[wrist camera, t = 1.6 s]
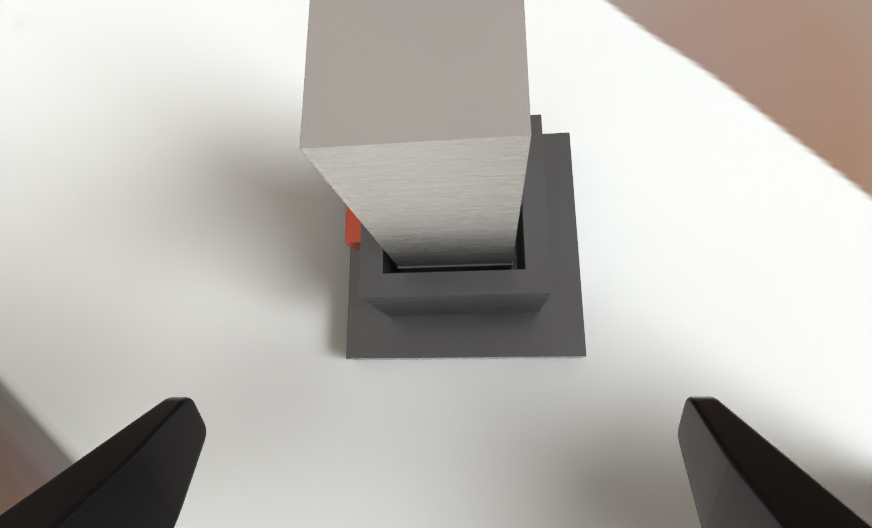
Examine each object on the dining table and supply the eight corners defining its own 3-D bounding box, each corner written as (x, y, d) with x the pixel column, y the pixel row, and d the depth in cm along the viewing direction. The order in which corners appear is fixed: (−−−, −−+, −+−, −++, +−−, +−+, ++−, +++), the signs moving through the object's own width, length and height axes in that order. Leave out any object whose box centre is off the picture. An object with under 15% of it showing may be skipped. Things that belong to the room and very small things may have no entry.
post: (509, 286, 21) (534, 137, 8) (414, 288, 21) (296, 151, 8) (506, 195, 22) (523, -64, 9) (415, 199, 22) (310, -41, 9)
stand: (581, 357, 21) (614, 348, 15) (354, 359, 22) (304, 351, 16) (565, 145, 23) (589, 66, 17) (361, 156, 24) (319, 86, 18)
